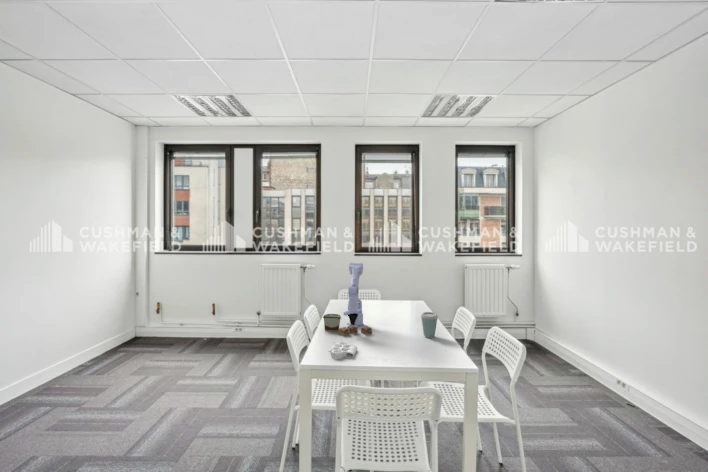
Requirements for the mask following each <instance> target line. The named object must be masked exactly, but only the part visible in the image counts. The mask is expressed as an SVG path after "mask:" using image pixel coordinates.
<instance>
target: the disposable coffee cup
mask: <svg viewBox="0 0 708 472" xmlns="http://www.w3.org/2000/svg"><path fill="white" fill-rule="evenodd" d="M420 318H421V324H422V331H423V335H424V336H425V337H424V338H426V339H434V338H435V335H436V329H437V323H438V315H437V313H436V312H432V311H425V312H422V313H421V314H420Z"/></svg>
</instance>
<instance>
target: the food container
mask: <svg viewBox="0 0 708 472" xmlns="http://www.w3.org/2000/svg"><path fill="white" fill-rule="evenodd" d="M322 318H323V322H324V323H323V324H324V331H326V332H327V331H329V332H330V331H331V332H339V328H340V323H341V319H342V317H341V315H340V314H337V313H328V314H324V315H323V317H322Z"/></svg>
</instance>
